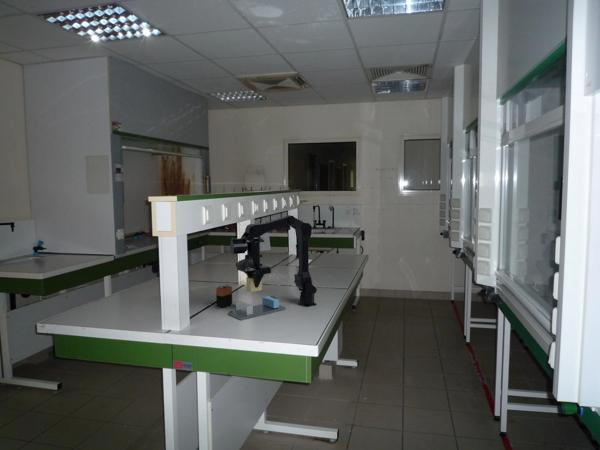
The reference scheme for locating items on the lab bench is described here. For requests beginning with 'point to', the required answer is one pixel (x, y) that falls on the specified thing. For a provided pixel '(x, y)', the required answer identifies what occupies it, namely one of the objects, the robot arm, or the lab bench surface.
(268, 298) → the block
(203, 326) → the lab bench surface
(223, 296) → the battery
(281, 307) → the vise
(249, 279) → the brass block
